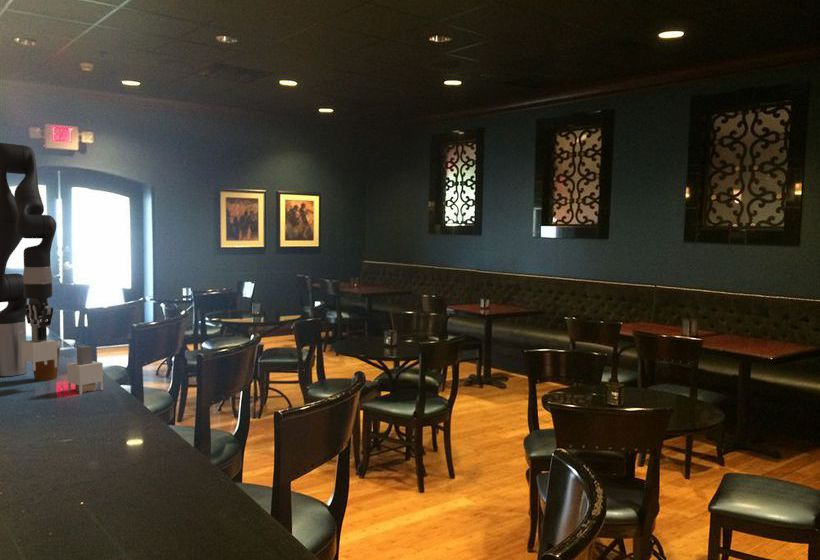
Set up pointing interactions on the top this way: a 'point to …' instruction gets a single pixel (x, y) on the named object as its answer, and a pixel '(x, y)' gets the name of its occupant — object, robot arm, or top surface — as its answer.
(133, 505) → the top surface
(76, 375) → the cover
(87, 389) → the letter cube
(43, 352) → the cover
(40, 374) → the disposable coffee cup
